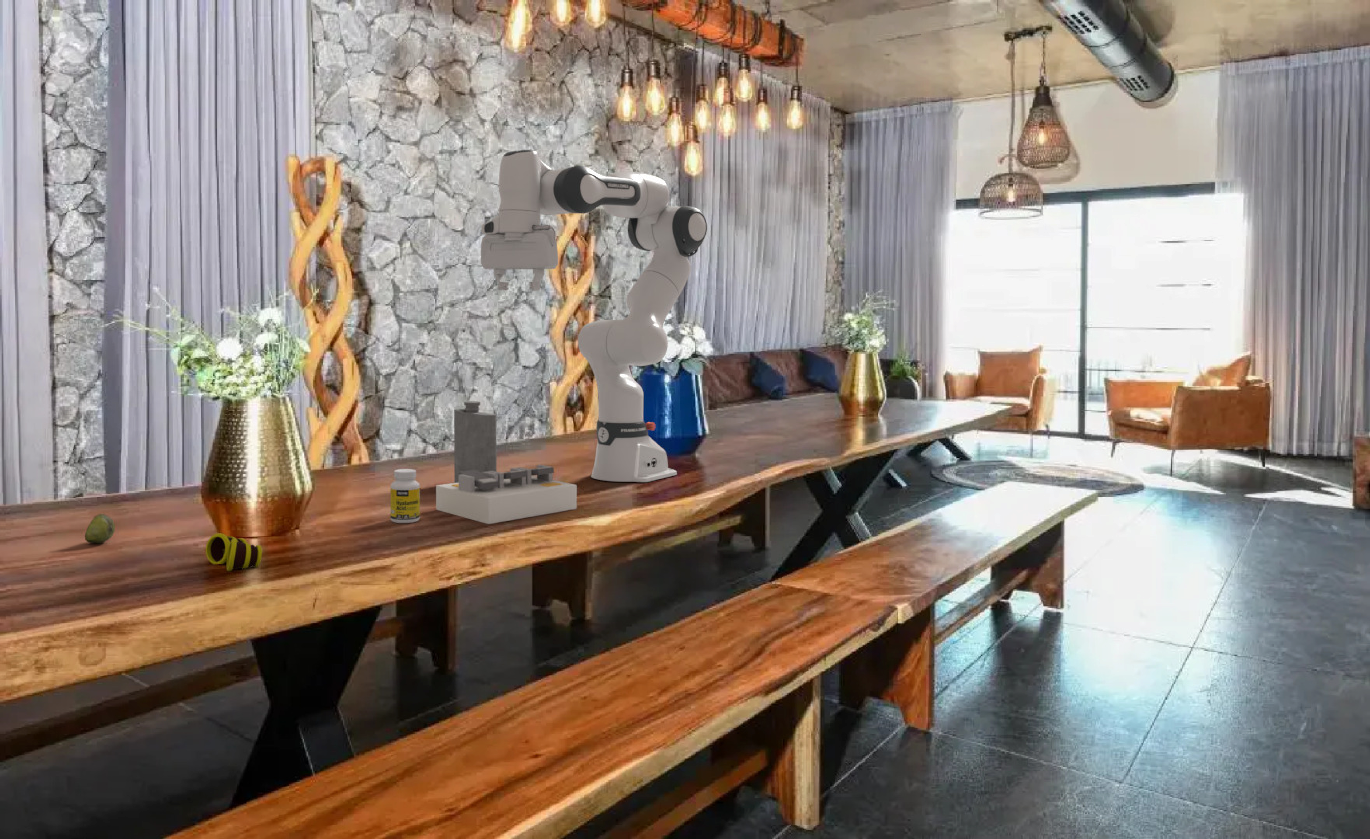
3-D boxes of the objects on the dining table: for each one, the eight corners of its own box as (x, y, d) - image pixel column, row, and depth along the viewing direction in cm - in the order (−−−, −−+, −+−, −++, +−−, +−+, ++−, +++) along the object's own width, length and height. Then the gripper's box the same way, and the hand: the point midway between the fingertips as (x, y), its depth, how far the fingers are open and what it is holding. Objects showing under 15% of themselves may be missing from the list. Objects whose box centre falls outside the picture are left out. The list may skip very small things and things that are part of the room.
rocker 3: (530, 474, 204) (529, 468, 204) (553, 473, 199) (553, 466, 199) (515, 476, 201) (514, 470, 201) (538, 475, 196) (538, 468, 196)
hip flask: (499, 491, 215) (499, 403, 213) (483, 493, 212) (483, 404, 210) (464, 481, 227) (463, 398, 224) (448, 483, 224) (448, 398, 222)
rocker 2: (503, 478, 199) (503, 471, 199) (527, 476, 194) (526, 469, 194) (487, 480, 196) (487, 473, 196) (511, 478, 191) (510, 471, 191)
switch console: (523, 496, 210) (523, 460, 209) (576, 508, 198) (576, 470, 197) (436, 509, 194) (435, 470, 193) (488, 524, 182) (488, 482, 181)
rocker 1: (475, 475, 194) (475, 468, 194) (498, 487, 189) (498, 480, 189) (458, 477, 191) (459, 470, 191) (481, 489, 186) (482, 482, 186)
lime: (86, 547, 158) (84, 518, 157) (83, 541, 162) (82, 512, 161) (117, 544, 161) (115, 515, 160) (114, 538, 164) (112, 510, 164)
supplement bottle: (393, 524, 180) (393, 473, 179) (388, 519, 184) (387, 469, 183) (422, 522, 182) (422, 471, 181) (416, 516, 187) (416, 467, 186)
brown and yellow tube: (262, 574, 148) (267, 542, 148) (227, 574, 144) (233, 541, 144) (236, 562, 154) (241, 532, 154) (202, 562, 150) (208, 530, 151)
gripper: (565, 225, 203) (564, 291, 204) (497, 228, 214) (496, 290, 216) (544, 222, 198) (543, 289, 199) (476, 226, 209) (475, 289, 210)
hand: (518, 290), depth 207 cm, fingers open, 8 cm apart
